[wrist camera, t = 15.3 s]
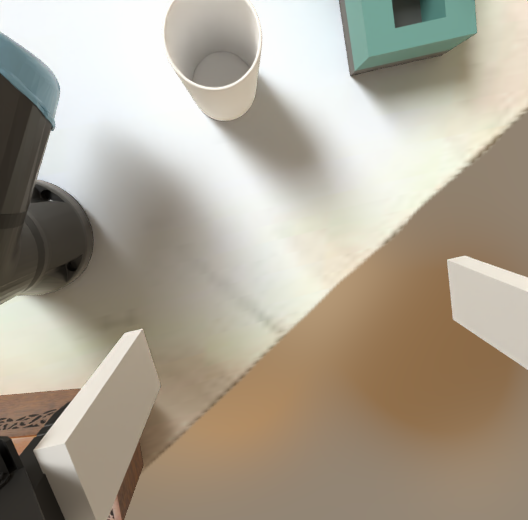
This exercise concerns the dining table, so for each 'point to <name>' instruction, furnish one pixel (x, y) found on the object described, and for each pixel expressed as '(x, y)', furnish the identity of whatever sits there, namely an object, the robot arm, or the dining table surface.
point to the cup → (215, 53)
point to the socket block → (403, 30)
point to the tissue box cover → (34, 418)
